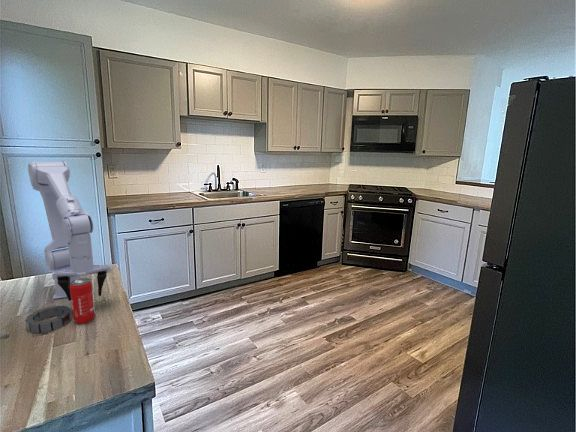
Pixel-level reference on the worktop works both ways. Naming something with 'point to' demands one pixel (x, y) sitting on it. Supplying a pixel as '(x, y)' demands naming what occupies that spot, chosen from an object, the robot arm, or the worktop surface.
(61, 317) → the collar ring
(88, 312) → the beverage can
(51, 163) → the robot arm
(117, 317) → the worktop surface
